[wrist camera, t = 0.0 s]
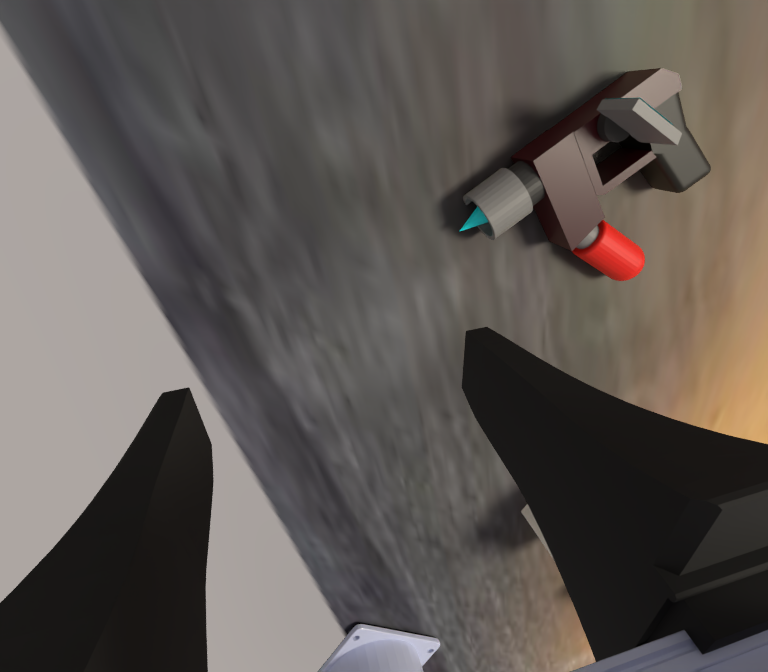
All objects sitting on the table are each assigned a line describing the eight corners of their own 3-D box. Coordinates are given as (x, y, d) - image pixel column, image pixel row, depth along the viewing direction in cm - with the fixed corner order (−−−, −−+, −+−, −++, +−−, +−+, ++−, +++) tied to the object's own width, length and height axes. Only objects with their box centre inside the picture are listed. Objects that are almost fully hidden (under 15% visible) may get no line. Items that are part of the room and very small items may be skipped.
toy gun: (432, 197, 22) (475, 217, 18) (645, 39, 21) (742, 22, 17) (513, 338, 27) (563, 381, 22) (690, 213, 26) (775, 232, 22)
